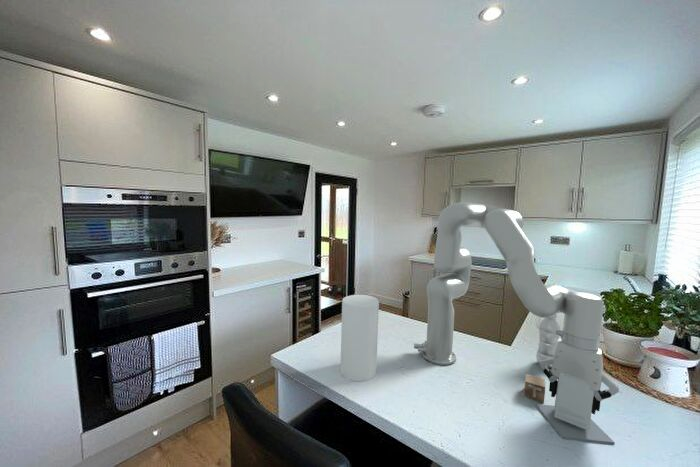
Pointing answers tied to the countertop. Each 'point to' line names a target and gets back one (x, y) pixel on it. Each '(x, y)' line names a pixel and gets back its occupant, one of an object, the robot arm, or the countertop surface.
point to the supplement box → (573, 401)
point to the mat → (574, 428)
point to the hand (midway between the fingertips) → (572, 402)
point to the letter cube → (534, 388)
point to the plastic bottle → (547, 338)
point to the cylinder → (359, 337)
